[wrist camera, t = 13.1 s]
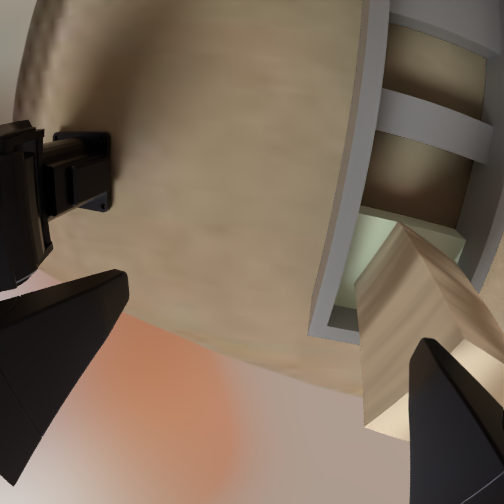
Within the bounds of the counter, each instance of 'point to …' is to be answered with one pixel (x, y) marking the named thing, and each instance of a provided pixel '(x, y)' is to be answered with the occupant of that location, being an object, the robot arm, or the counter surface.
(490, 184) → the box
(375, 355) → the birch block
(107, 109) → the counter surface
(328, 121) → the counter surface
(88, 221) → the counter surface
